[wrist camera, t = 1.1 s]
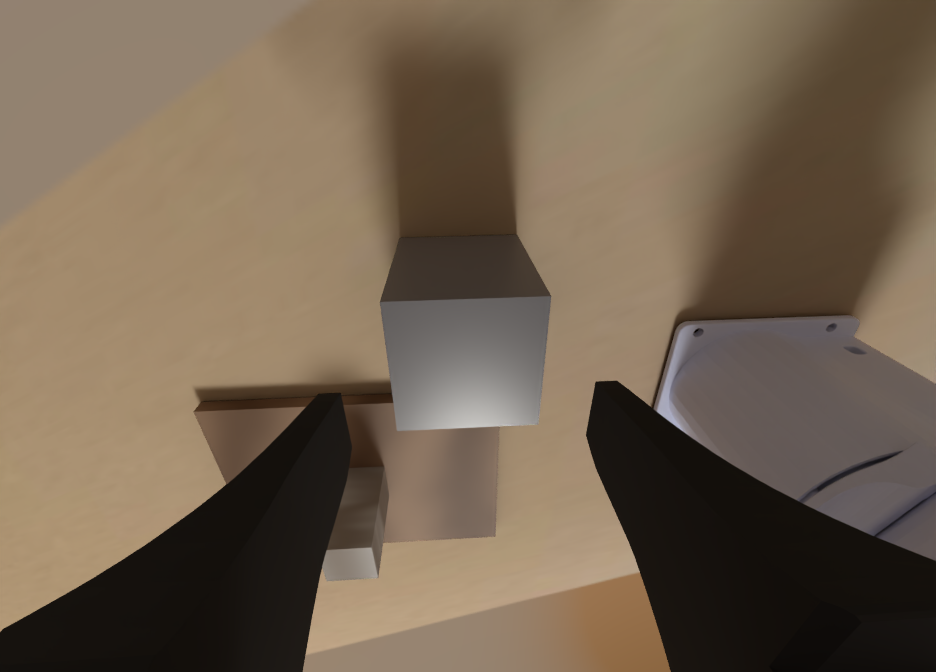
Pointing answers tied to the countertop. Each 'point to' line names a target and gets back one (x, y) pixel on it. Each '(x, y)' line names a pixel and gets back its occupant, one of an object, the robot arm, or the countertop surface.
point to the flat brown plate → (375, 475)
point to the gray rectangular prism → (465, 332)
